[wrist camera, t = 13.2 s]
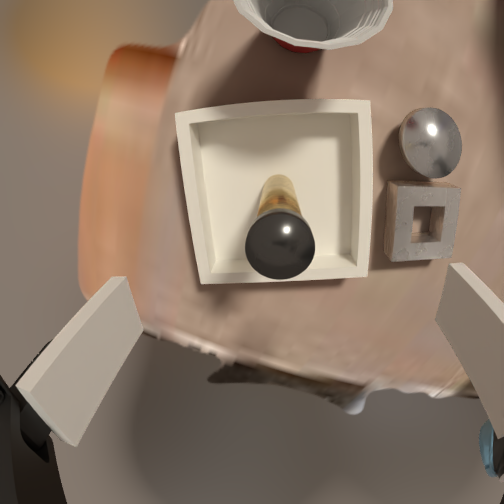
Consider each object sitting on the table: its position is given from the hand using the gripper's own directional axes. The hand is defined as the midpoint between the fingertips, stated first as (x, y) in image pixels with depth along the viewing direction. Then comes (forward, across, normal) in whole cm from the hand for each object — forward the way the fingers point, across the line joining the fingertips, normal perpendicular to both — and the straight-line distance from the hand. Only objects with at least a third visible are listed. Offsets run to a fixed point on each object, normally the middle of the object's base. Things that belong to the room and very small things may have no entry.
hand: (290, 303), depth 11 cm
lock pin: (+19, +1, 0) cm, 19 cm away
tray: (+20, +1, 0) cm, 20 cm away
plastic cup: (+20, -3, -17) cm, 26 cm away
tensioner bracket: (+20, -15, -1) cm, 25 cm away
